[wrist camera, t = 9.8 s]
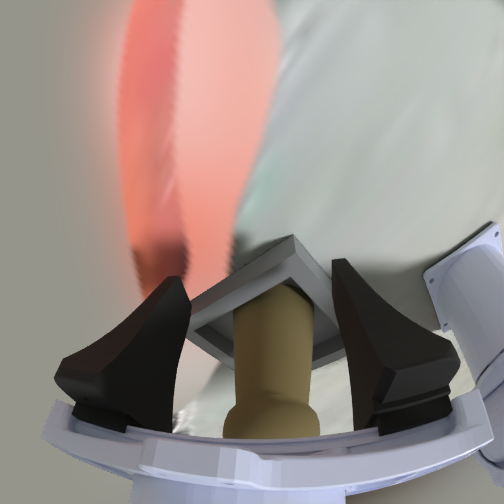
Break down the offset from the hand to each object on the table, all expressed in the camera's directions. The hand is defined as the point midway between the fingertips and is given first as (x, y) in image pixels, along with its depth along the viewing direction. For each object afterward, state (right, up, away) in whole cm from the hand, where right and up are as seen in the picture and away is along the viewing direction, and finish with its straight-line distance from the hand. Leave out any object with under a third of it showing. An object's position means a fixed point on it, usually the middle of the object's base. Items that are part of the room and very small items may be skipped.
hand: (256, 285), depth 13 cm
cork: (+1, -3, +7) cm, 8 cm away
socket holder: (+2, -4, +8) cm, 9 cm away
